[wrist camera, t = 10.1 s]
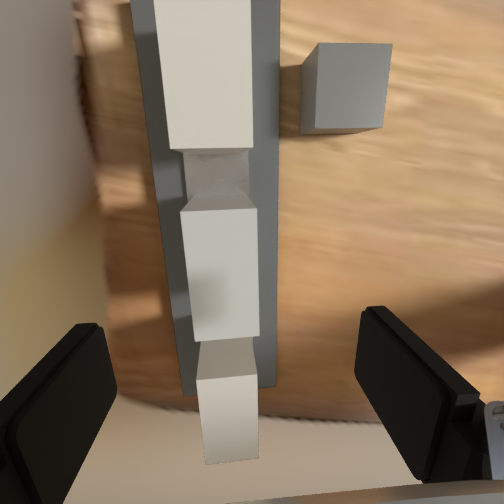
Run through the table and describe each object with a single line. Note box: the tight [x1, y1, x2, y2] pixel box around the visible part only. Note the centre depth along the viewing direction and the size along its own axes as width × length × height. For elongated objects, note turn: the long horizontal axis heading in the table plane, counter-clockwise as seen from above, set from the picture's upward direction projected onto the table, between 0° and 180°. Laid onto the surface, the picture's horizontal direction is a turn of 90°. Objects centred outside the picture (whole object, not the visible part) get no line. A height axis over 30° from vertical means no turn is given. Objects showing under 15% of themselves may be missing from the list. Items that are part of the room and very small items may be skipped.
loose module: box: [180, 193, 260, 342], centre depth 19 cm, size 4×8×8 cm, turn 2°
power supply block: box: [300, 43, 393, 134], centre depth 20 cm, size 5×5×4 cm
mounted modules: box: [154, 0, 259, 465], centre depth 19 cm, size 4×30×8 cm, turn 1°
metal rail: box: [183, 151, 253, 345], centre depth 23 cm, size 5×31×1 cm, turn 1°
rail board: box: [130, 0, 280, 396], centre depth 23 cm, size 10×34×1 cm, turn 1°
